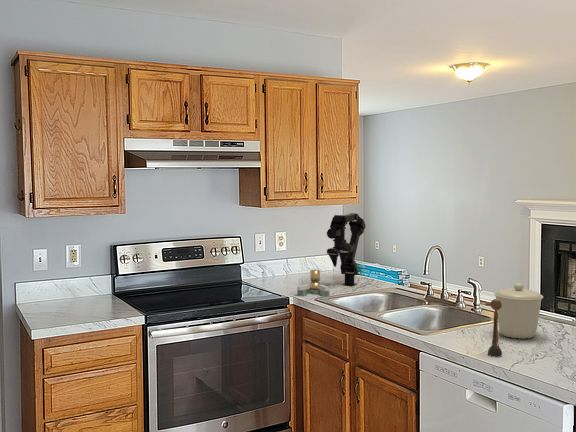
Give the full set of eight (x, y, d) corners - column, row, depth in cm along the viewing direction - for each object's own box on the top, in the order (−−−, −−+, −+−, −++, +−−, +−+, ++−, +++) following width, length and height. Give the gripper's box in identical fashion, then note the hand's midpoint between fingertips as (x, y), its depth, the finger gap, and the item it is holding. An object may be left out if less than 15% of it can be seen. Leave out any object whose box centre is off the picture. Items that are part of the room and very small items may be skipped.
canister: (532, 344, 227) (534, 289, 226) (485, 336, 239) (487, 283, 238) (548, 335, 241) (550, 282, 240) (503, 327, 253) (504, 277, 251)
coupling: (310, 291, 331) (310, 269, 330) (320, 291, 330) (320, 269, 330) (309, 293, 326) (309, 270, 325) (319, 293, 326) (319, 271, 325)
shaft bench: (313, 290, 335) (313, 281, 334) (338, 294, 323) (338, 285, 323) (292, 294, 322) (292, 285, 321) (317, 299, 310) (317, 289, 310)
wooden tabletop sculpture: (483, 355, 214) (484, 299, 213) (486, 351, 218) (487, 296, 217) (500, 357, 211) (502, 300, 210) (503, 354, 215) (504, 298, 214)
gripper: (344, 239, 325) (344, 268, 325) (359, 237, 341) (359, 265, 341) (326, 238, 331) (326, 267, 331) (342, 236, 346) (341, 263, 347)
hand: (339, 265), depth 338 cm, fingers open, 9 cm apart
